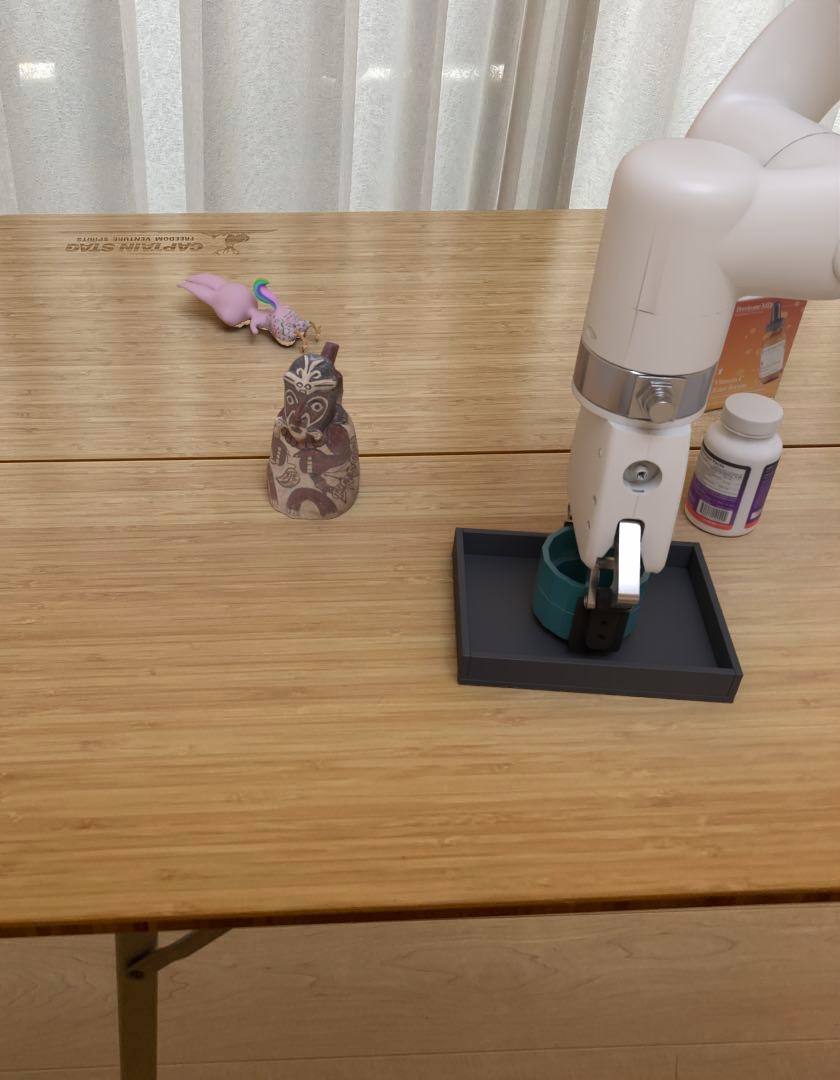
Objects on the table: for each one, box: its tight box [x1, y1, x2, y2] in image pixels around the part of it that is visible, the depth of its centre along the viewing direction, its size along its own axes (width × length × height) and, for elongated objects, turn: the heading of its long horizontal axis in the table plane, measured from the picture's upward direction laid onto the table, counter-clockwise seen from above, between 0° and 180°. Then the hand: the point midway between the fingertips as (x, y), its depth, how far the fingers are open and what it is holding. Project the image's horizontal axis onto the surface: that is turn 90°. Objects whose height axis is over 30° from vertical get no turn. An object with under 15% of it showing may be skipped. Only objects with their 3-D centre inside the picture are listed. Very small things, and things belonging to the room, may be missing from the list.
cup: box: [532, 525, 651, 641], centre depth 72 cm, size 7×7×5 cm
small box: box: [704, 296, 808, 412], centre depth 95 cm, size 8×6×10 cm
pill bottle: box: [684, 393, 785, 537], centre depth 81 cm, size 5×5×10 cm
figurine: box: [266, 340, 361, 521], centre depth 82 cm, size 7×7×12 cm
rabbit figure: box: [175, 272, 322, 346], centre depth 104 cm, size 6×6×15 cm
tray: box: [451, 526, 744, 704], centre depth 74 cm, size 17×13×2 cm
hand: (585, 606), depth 73 cm, fingers closed on cup, 6 cm apart
